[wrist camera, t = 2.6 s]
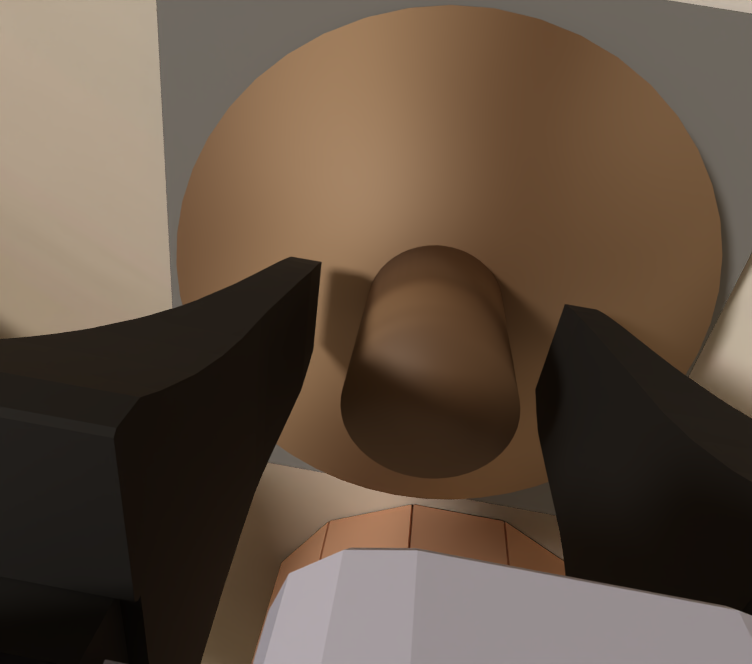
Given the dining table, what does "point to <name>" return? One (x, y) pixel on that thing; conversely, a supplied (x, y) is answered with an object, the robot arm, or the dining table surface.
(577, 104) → the lid
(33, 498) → the robot arm
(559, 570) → the bowl
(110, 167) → the dining table surface
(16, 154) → the dining table surface
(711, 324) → the mat
